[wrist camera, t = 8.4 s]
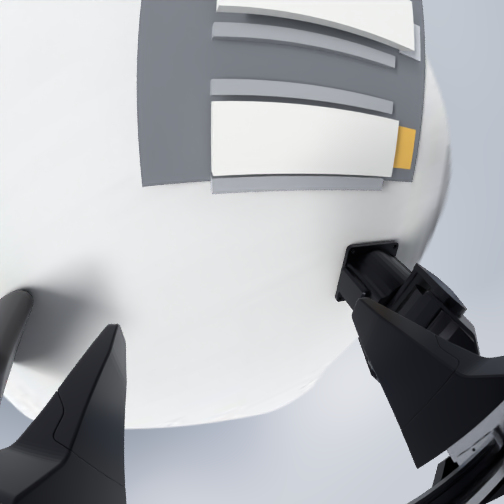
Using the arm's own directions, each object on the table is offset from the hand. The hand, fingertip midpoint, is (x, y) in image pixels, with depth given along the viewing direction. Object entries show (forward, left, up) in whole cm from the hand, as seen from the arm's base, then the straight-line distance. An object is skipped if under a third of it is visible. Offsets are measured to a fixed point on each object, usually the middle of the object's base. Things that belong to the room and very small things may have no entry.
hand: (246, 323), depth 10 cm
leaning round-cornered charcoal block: (+23, +12, -13) cm, 29 cm away
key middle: (-6, -15, -8) cm, 18 cm away
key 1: (-6, -5, -10) cm, 13 cm away
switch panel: (-6, -15, -12) cm, 20 cm away
